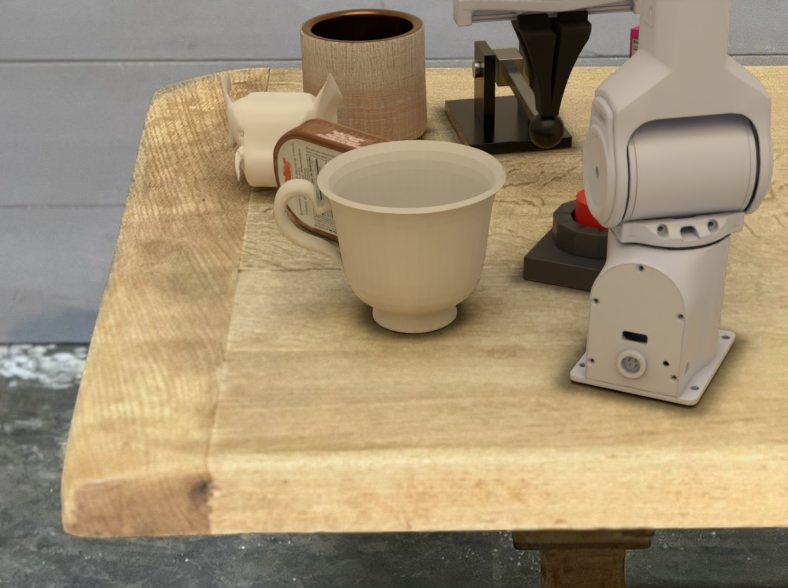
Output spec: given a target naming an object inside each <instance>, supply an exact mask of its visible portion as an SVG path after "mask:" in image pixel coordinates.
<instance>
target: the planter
mask: <svg viewBox="0 0 788 588" xmlns="http://www.w3.org/2000/svg"><path fill="white" fill-rule="evenodd" d="M299 36H300V37H299V39H300V52H301V53H300V55H301V70H302V90H303V91H302V92H303V93H309V94H311V95H313V96H314V97H317V95H318V93H319V92H320V91H321V89H322V88H323V86H324V85H325V83H326V81H327V77H328V74H329V73H331V74H332V76H333V78H334V80H335V82H336V84H337V86H338V88H339V90H340V92H341V94H342V96H343V99H342V100H341V101H340V103H339V104H338V106H337V124H341V125H344V126H347V127H350V128H353V129H356V130H360V131H363V132H366V133H370V134H373V135H376V136H380V137H383V138H386V139H390V140H393V141H404V140H419V138H420V137H421V136H422V135H424V133H425V132H426V130H427V125H428V112H427V111H428V107H427V106H428V104H427V77H426V73H427V72H426V35H425V22H424V21H423V19H421V17H418V16H417V15H415V14H412V13H410V12H406V11H401V10H395V9H386V8H351V9H342V10H337V11H329V12H326V13H322V14H318V15H316V16H313V17H311V18H308V19H307V20H305V21H304V22H303V23H302V24H301V25H300V27H299Z"/></svg>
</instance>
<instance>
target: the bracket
mask: <svg viewBox="0 0 788 588" xmlns="http://www.w3.org/2000/svg"><path fill="white" fill-rule="evenodd" d="M473 44H474V46H473V47H474V53H473V55H474V56H473V61H472V64H471V73H472V77H473V97H471V98H459V99H448V100H445V101H444V111H445V114H446V115H447V117H448V119H449V121H450V122H451V124H452V127H453V128H454V130H455V132H456V134H457V135H458V137H459V139H460V141H461V143H462V145H466V146H470V147H473V148H476V149H479V150H482V151H484V152H486V153H488V154H490V155H497V154H509V153H510V154H511V153H521V152H522V153H524V152H534V151H548V150H560V149H572V148H573V136H572V134H571V133H570V132H569V131H568V129H567V128H566V127H565V126H564V135H563V138H562V139H561V141H560V142H559V143H558V144H557V145H555V146H553V147H551V148H541V147H539V146H537V145H535V144H534V143H533V142H532V140H531V138H530V136H529V125H530V122H531V121H530V120H529V118H528V116H527V115H526V113H525V111H524V110H523V108H522V106H521V105H520V103H519V101H518V100H517V98H516V97H515V95H514V94H512V95H497V96H496V82H495V72H496V55H495V53H494V52H493V51H492V49H493V48H491V47H490V45H489V43H488V42H487V41H486V40H475V41H474V43H473ZM518 51H519V52H520V54H521V55H522V57H523V77H524V79H525V80H526V82H527V83H528V85H529V86H530V88H531V89H532V91H533V93H534V90H533V85H532V80H531V76H530V72H529V69H528V65H527V62H526V59H525V56H524V53H523V50H522V47H521V45H520V42H519V41H518Z"/></svg>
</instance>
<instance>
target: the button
mask: <svg viewBox="0 0 788 588" xmlns="http://www.w3.org/2000/svg"><path fill="white" fill-rule="evenodd" d="M575 200H576V206H575V221H576V222H577V223H579V224H581V225H583V226H588V227H594V228H600V229H606V227H603V226H602V225H601V224H600V223H599V222H598V221H597V219H596V218H594V217H593V215H592V214H591V212H590V210H589V208H588V205H587V202H586V197H585V193H584V188H583V189H581V190H580V191H578V192H577V193H576V195H575ZM608 228H609V227H608Z"/></svg>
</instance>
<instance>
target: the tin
mask: <svg viewBox="0 0 788 588" xmlns="http://www.w3.org/2000/svg"><path fill="white" fill-rule="evenodd" d="M392 141H393V140H390V139H386V138H383V137H380V136H376V135H373V134H370V133H366V132H363V131H360V130H356V129H353V128H350V127H347V126H344V125H341V124H337V123H335V122H331V121H328V120H325V119H320V118H314V119H310V120H307V121H305V122H304V123H302V124H301V125H300V126H298V127H296V128H294V129H292V130H290V131H288V132H286V133H285V134H284V135H282V136H281V137H280V139H279V140H278V141H277V143H276V145H275V147H274V151H273V166H274V174H275V179H276V183H277V187H276V188H277V191H278V190H279V188H280V187H281V186H282V185H283V184H284V183H285V182H287V181H289V180H292V179H304V180H307V181H310V182H311V183H312V184H313V185H314V186H315V188H316V190H317V193H318V196H319V199H320V200H322V199H323V197H324V196H325V195H324V194H323V193H322V191H321V190H320V189H319V187H318V184H317V177H318V174H319V172H320V171H321V170H322V168H323V167H324V166H325V165H326V164H327V163H328V162H329V161H330V160H332V159H333V158H335V157H337V156H339V155H341V154H343V153H345V152H348V151H351V150H353V149H357V148H360V147H364V146H368V145H373V144H378V143H384V142H392ZM286 210H287V211H288V212H289V214H290V215H291V216H292V217H293V218H294V219H295V220H296V222H297V223H299V224H300V225H301V226H302V227H303V228H305V229H306V230H307V231H310V232H312V233H315V234H317V235H321V236H323V237H326V238H329V239H331V240H334V241H336V242H338V236H337V231H336V225H335V220H334V216H333V212H332V211H326V212H324V213H323V214H321V215H317V214H316V213H315V211H314V209H313V206H312V203H311V201H310V200H309V199H308V198H306V197H302V196H298V197H294V198H292V199H291V200H289V202H288V203H287V207H286Z"/></svg>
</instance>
